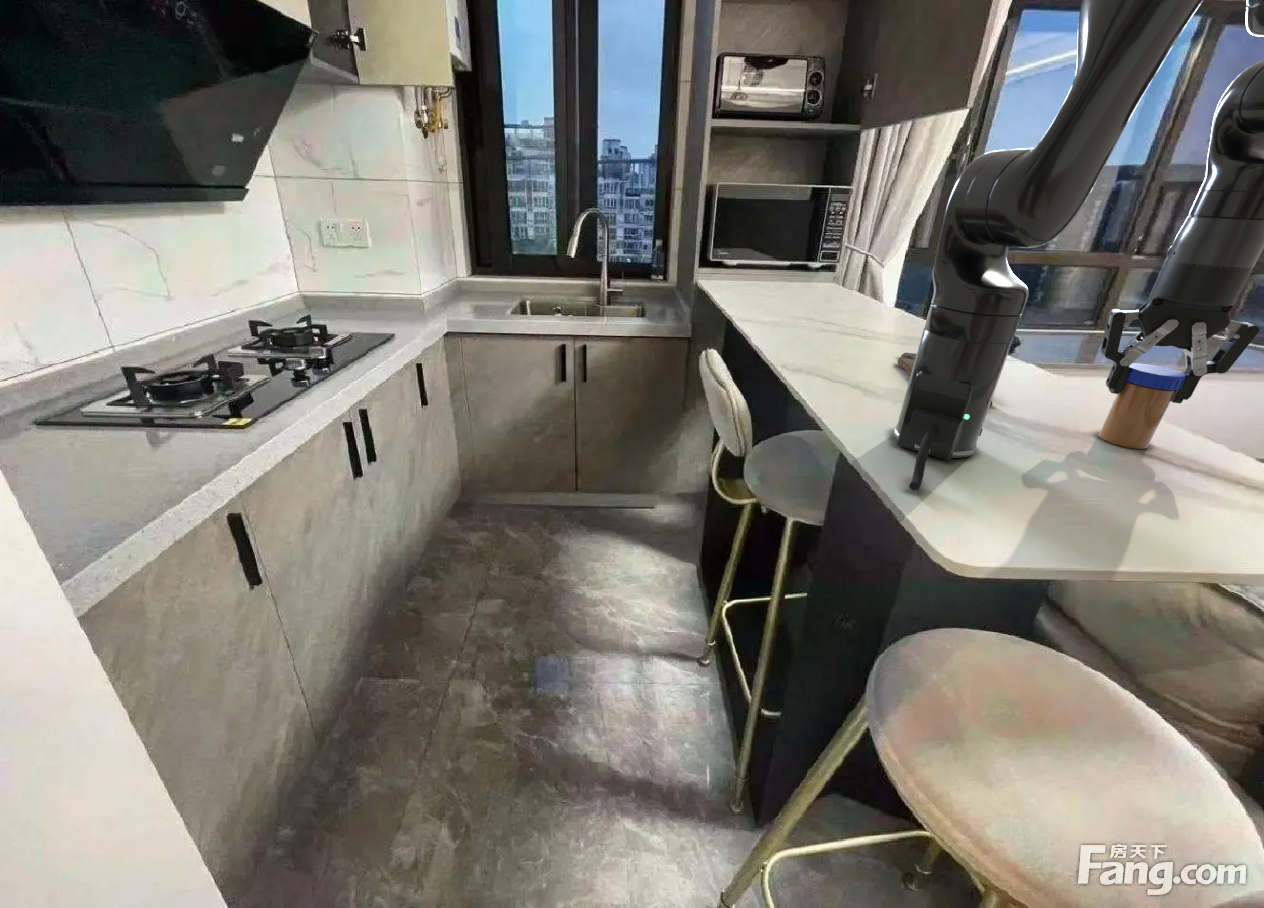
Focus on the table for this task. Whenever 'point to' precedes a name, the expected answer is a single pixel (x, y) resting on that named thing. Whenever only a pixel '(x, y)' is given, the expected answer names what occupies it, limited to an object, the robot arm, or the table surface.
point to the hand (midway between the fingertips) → (1143, 396)
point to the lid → (1156, 376)
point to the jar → (1135, 415)
